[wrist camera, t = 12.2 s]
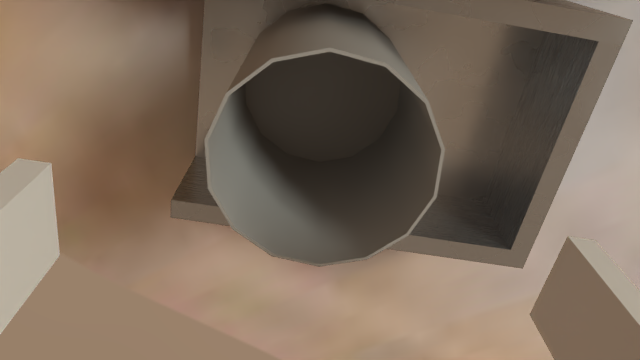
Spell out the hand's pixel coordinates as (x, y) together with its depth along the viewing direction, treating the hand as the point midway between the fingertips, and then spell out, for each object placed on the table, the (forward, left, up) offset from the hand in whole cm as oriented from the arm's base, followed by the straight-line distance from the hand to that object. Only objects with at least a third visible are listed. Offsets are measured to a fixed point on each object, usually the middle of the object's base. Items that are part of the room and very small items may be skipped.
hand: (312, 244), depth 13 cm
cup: (0, 0, -15) cm, 15 cm away
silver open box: (+3, 0, -16) cm, 16 cm away
